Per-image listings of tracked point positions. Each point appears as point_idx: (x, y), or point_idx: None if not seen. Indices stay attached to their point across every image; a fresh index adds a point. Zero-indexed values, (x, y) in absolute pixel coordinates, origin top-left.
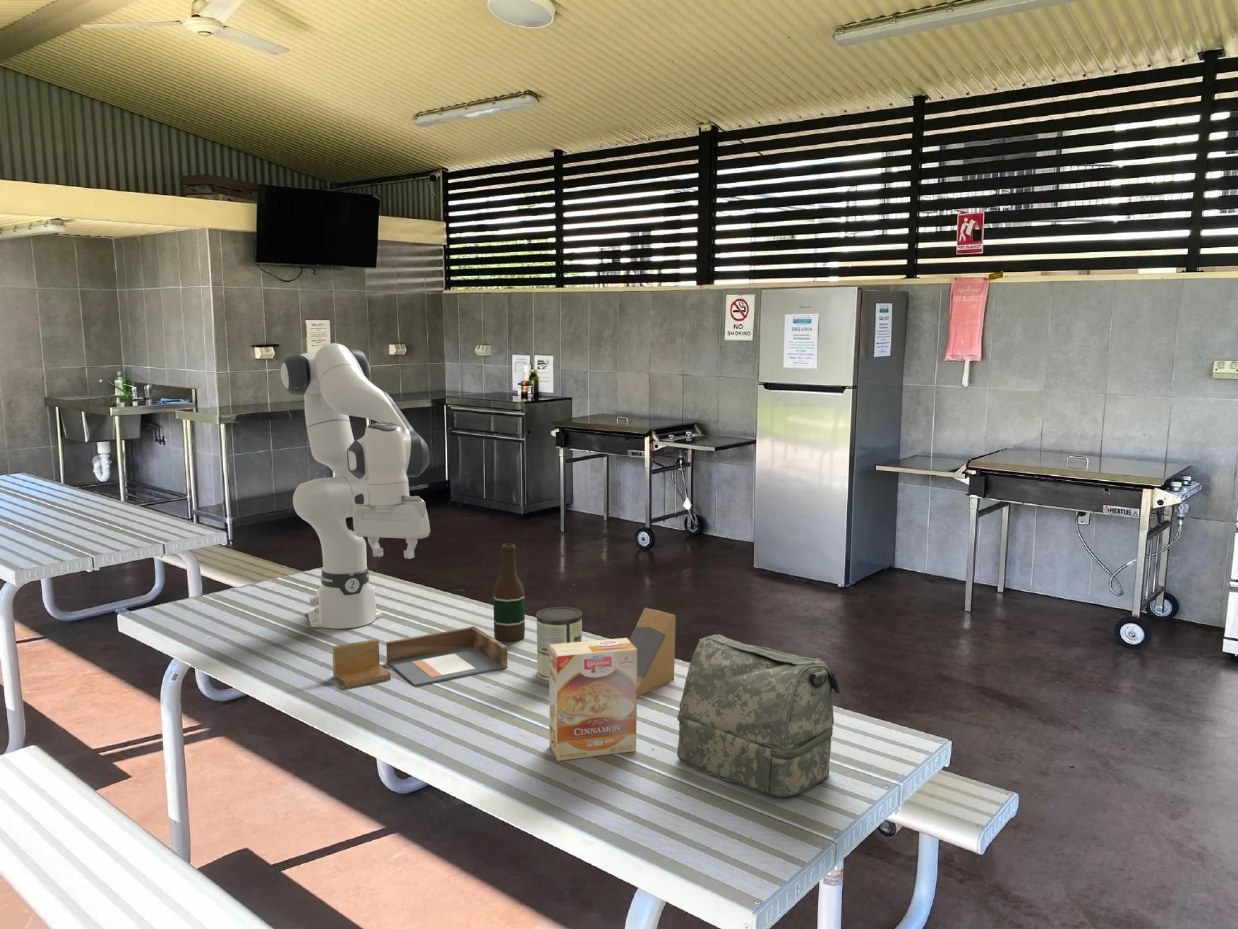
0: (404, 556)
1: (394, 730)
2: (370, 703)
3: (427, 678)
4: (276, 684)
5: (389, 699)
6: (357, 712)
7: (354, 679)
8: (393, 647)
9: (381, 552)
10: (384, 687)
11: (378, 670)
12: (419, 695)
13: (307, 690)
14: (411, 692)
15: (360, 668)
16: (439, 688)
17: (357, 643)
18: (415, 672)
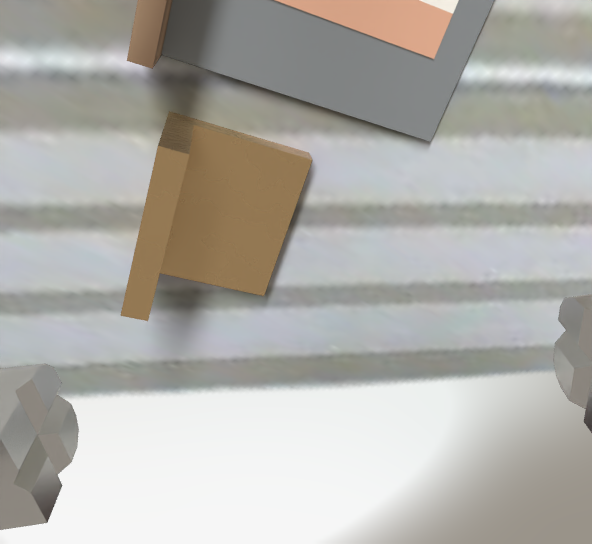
0: (573, 391)
1: None
2: (409, 295)
3: (426, 74)
4: (80, 385)
5: (433, 249)
6: (426, 343)
7: (262, 265)
8: (160, 38)
9: (31, 413)
10: (347, 206)
11: (250, 167)
12: (488, 175)
13: (190, 354)
14: (450, 176)
15: (182, 197)
16: (506, 94)
17: (155, 235)
18: (343, 61)
